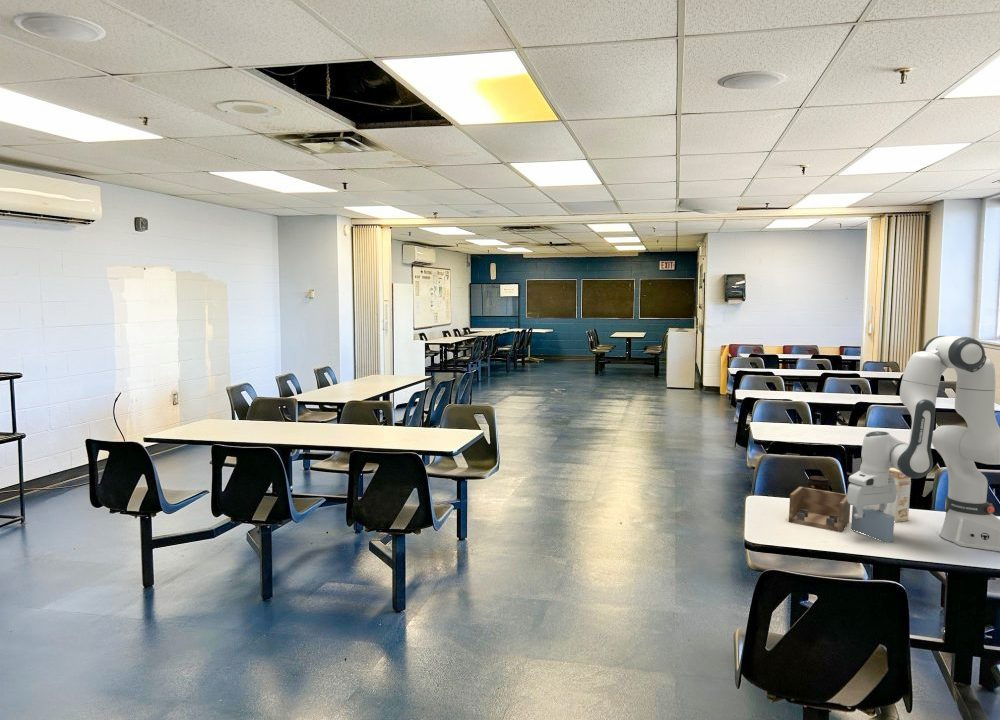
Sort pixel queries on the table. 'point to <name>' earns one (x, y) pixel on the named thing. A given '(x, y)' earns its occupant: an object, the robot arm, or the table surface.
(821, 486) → the coffee cup
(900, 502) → the coffeecake box
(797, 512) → the cabinet
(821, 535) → the table surface
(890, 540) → the door
